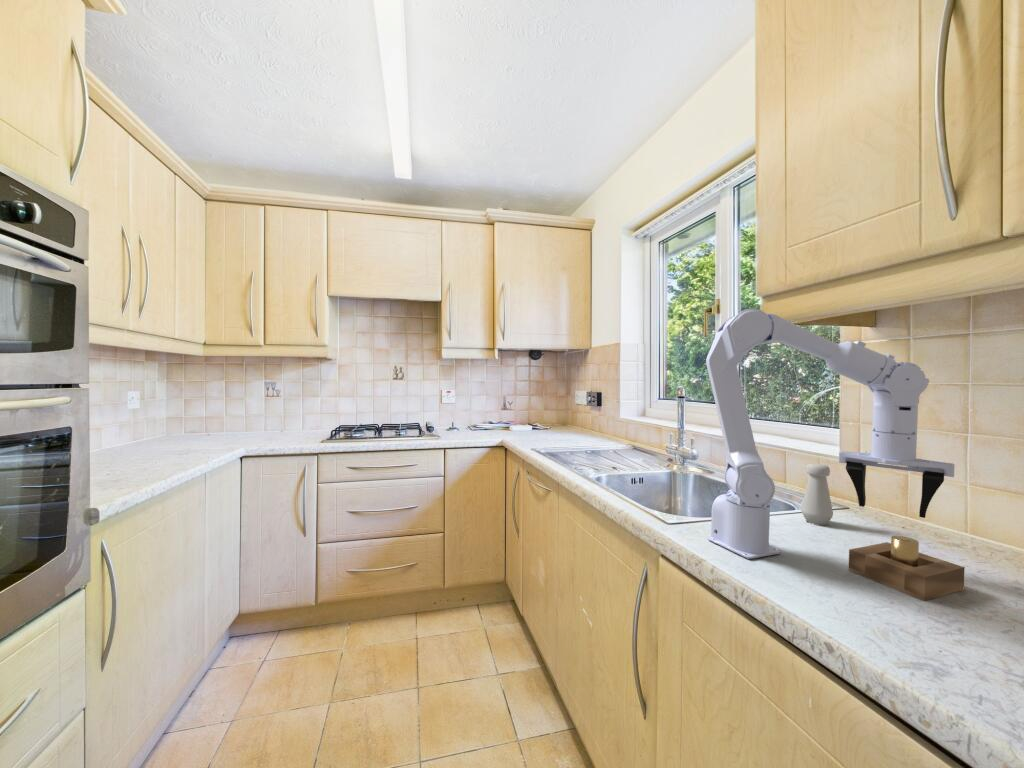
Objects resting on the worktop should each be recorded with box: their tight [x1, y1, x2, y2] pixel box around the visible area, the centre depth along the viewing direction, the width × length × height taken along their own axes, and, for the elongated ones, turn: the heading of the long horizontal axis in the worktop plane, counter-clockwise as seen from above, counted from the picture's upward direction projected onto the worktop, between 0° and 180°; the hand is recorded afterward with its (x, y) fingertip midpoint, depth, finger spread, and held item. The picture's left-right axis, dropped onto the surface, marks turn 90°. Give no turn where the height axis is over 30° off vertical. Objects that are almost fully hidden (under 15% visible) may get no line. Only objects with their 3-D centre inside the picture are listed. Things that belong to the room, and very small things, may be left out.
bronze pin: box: [890, 535, 920, 567], centre depth 67 cm, size 3×3×6 cm
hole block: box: [848, 541, 966, 602], centre depth 67 cm, size 10×10×4 cm
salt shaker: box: [800, 462, 834, 526], centre depth 93 cm, size 6×6×13 cm
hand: (891, 510), depth 72 cm, fingers open, 7 cm apart
